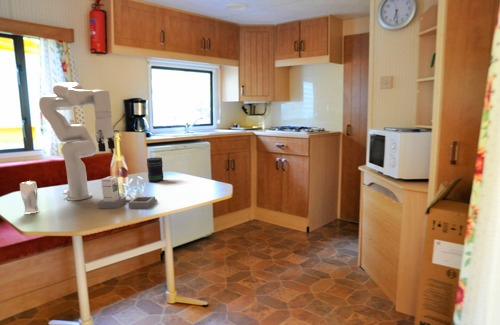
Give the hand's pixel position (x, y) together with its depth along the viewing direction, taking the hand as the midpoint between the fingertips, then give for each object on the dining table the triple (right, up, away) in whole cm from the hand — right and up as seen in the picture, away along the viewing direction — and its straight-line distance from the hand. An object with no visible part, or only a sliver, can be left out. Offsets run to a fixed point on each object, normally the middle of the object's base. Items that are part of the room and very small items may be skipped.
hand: (107, 150), depth 177 cm
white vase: (-35, -31, -3) cm, 47 cm away
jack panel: (+9, -28, +5) cm, 30 cm away
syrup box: (+1, -28, +5) cm, 29 cm away
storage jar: (+10, -19, +56) cm, 60 cm away
